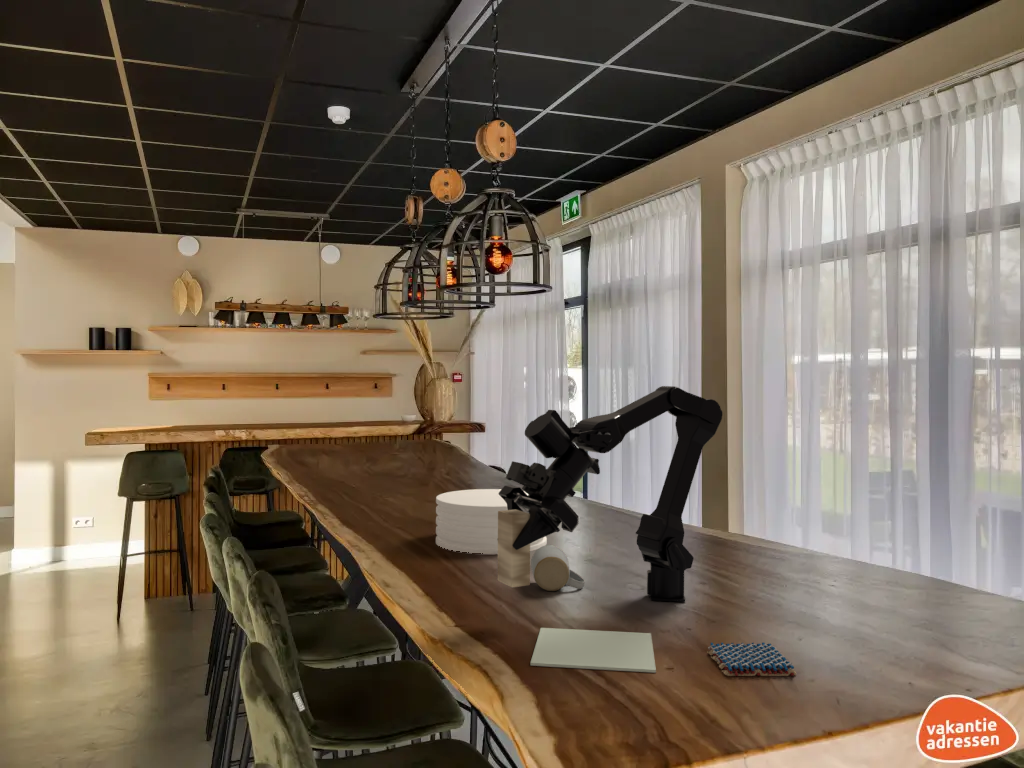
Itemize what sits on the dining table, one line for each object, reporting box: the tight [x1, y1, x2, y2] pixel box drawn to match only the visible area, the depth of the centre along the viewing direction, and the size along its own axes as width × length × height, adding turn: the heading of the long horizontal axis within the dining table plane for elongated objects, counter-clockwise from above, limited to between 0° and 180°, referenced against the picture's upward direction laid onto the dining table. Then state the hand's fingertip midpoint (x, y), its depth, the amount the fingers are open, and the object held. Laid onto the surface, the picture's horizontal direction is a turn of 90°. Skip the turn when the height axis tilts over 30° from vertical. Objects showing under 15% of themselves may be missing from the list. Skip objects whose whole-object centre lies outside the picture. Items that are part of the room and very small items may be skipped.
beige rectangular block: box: [497, 509, 531, 588], centre depth 134 cm, size 4×5×12 cm
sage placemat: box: [529, 627, 657, 674], centre depth 121 cm, size 18×16×1 cm
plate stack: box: [435, 488, 548, 555], centre depth 199 cm, size 28×28×12 cm
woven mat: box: [706, 642, 797, 677], centre depth 116 cm, size 10×11×2 cm
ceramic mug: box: [530, 544, 586, 592], centre depth 157 cm, size 11×8×8 cm
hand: (506, 544), depth 133 cm, fingers closed on beige rectangular block, 5 cm apart
